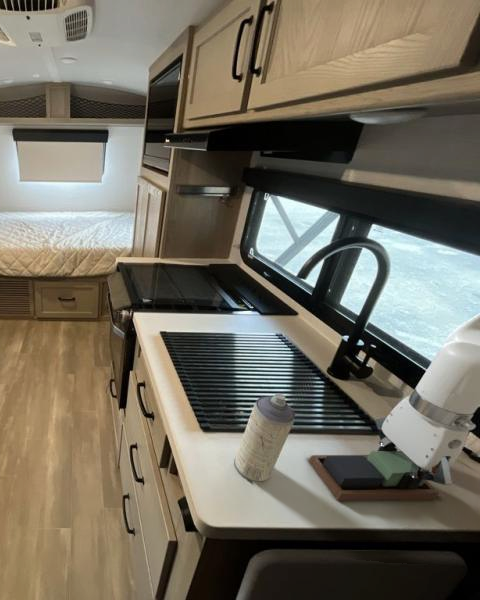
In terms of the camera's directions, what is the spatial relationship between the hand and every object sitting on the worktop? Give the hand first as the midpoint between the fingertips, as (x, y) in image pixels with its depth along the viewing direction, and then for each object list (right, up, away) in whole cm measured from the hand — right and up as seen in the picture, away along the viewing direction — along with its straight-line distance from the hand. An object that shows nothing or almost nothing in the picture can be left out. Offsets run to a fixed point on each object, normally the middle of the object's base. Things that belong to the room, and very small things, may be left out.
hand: (392, 473), depth 68 cm
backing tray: (-5, -2, +1) cm, 5 cm away
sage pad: (0, 0, 0) cm, 0 cm away
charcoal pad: (-9, -1, 0) cm, 9 cm away
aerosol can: (-28, -1, +3) cm, 28 cm away
